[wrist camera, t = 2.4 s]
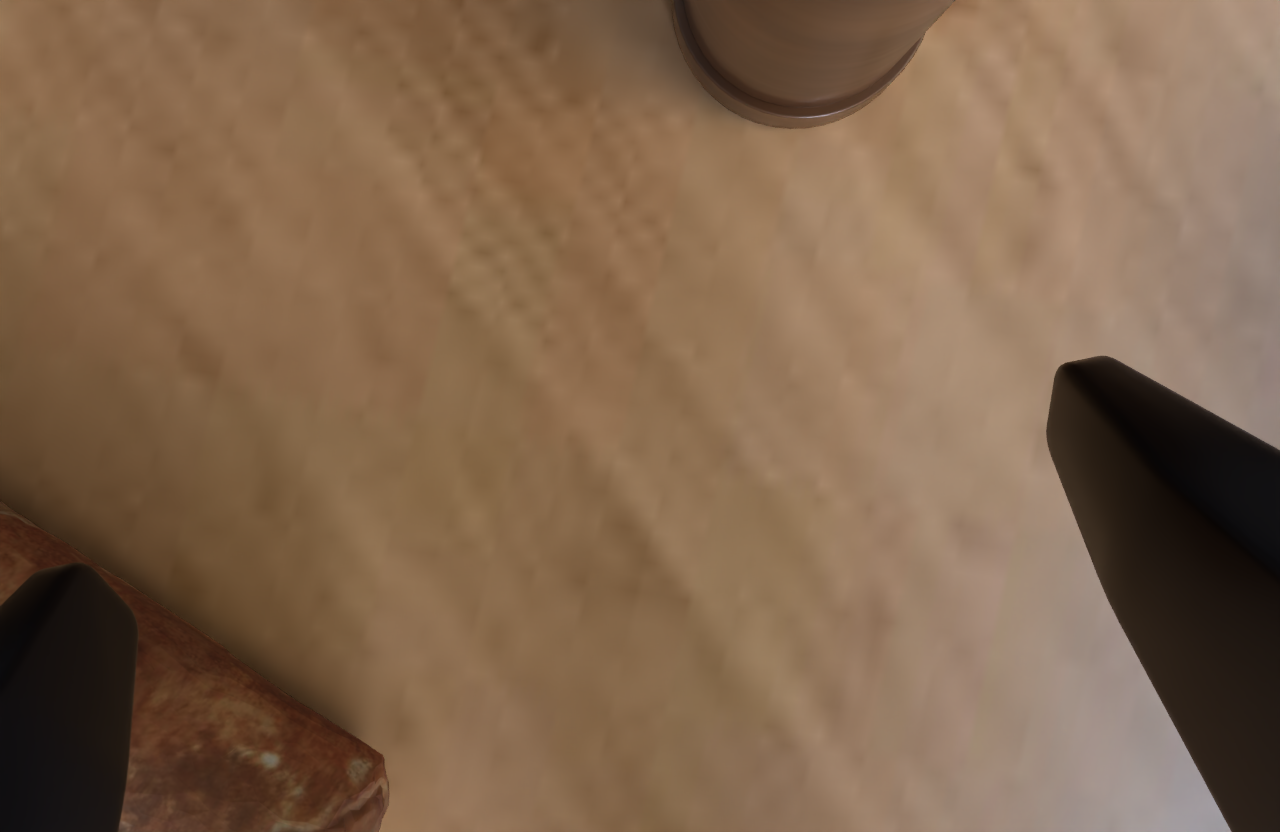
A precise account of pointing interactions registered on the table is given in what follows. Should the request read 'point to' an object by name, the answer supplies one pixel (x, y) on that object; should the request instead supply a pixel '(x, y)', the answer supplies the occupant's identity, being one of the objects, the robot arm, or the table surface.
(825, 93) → the pepper mill
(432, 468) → the table surface
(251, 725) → the brown cylinder
